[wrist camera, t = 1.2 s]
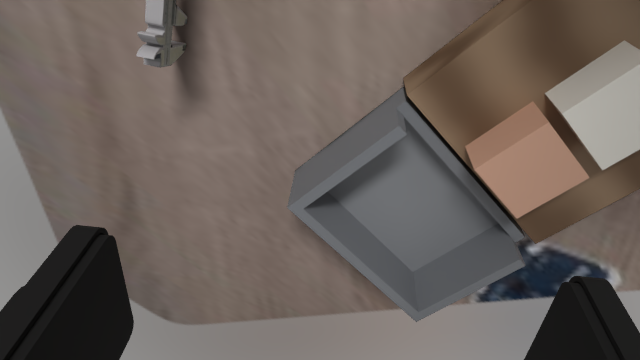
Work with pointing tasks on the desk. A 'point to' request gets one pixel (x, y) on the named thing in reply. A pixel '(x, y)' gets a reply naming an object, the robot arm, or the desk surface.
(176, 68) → the desk surface
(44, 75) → the desk surface
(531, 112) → the tile terracotta
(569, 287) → the robot arm
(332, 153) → the box
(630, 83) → the tile cream
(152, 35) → the caliper
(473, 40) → the plate
